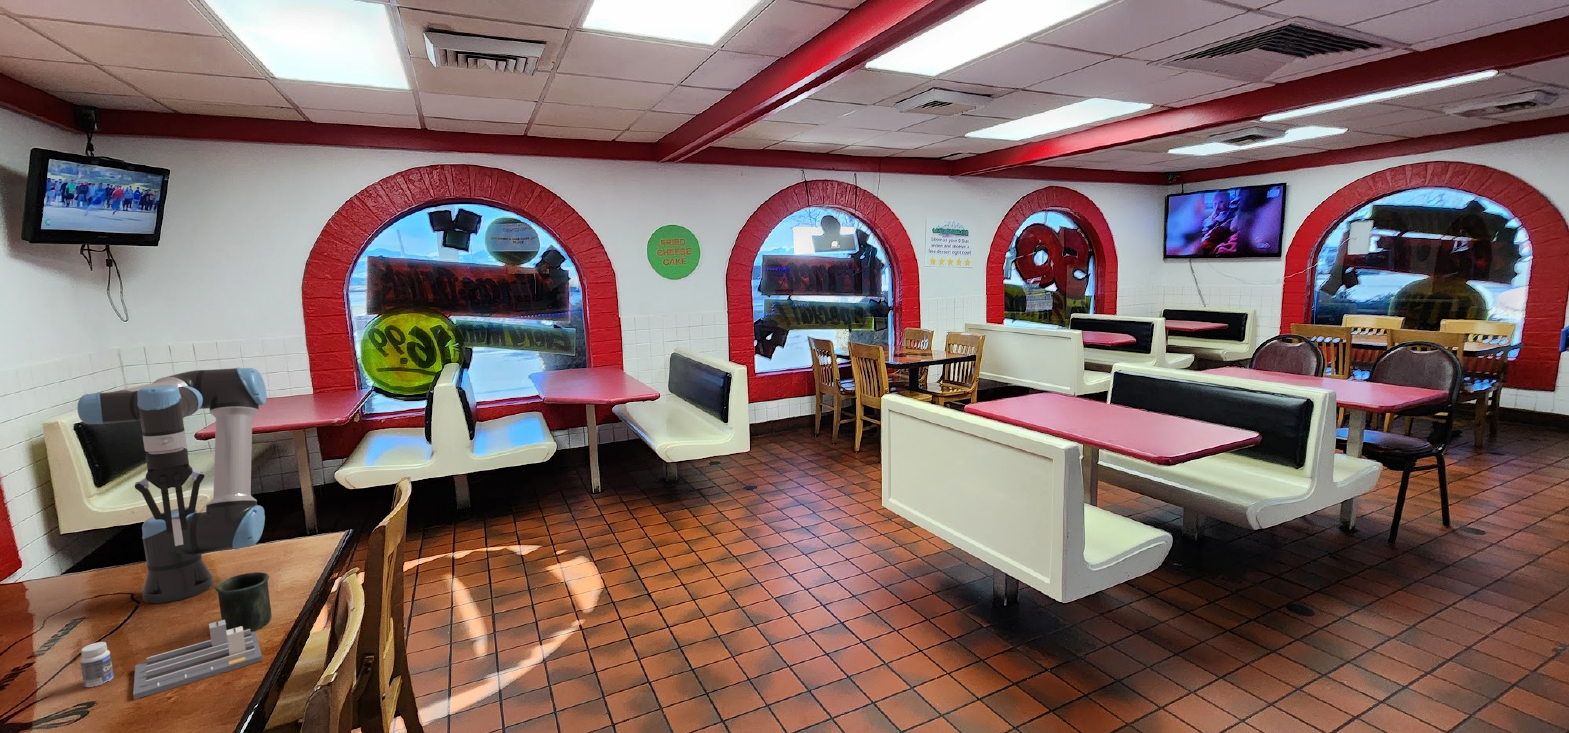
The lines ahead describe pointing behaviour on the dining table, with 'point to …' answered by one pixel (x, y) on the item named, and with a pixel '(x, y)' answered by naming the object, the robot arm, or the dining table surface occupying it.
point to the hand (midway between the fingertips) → (179, 543)
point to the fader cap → (236, 640)
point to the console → (194, 662)
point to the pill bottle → (96, 664)
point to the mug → (245, 601)
